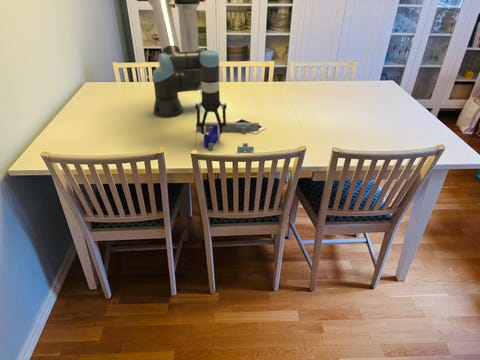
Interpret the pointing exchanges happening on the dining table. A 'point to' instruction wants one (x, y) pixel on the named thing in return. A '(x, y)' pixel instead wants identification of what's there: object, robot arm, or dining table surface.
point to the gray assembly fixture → (233, 128)
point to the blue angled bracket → (211, 136)
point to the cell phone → (249, 122)
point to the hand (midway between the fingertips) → (212, 139)
